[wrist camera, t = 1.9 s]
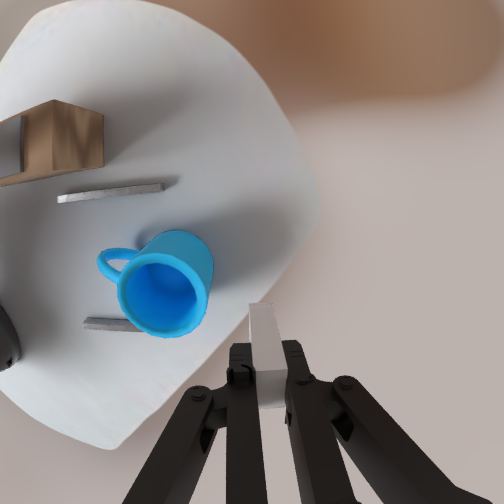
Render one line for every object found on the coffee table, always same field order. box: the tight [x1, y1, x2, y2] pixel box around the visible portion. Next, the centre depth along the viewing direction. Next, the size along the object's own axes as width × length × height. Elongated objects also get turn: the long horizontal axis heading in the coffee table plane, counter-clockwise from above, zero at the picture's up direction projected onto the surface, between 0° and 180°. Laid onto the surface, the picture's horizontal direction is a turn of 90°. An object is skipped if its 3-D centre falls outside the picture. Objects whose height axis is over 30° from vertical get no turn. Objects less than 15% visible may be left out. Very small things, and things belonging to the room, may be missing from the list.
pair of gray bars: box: [57, 183, 164, 332], centre depth 29 cm, size 13×17×2 cm
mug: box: [97, 230, 214, 338], centre depth 26 cm, size 12×8×8 cm
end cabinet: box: [0, 100, 104, 187], centre depth 20 cm, size 6×12×11 cm, turn 91°
